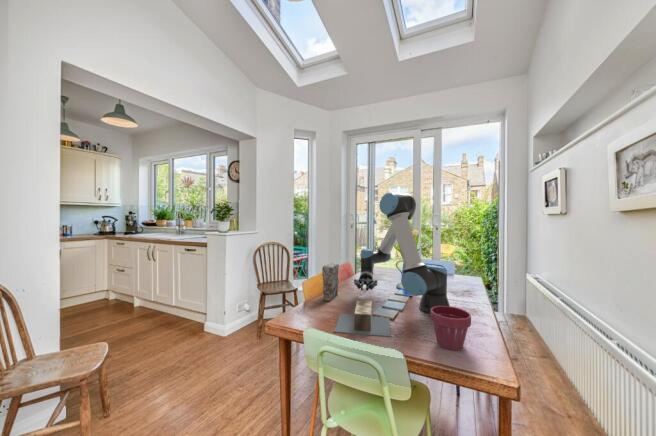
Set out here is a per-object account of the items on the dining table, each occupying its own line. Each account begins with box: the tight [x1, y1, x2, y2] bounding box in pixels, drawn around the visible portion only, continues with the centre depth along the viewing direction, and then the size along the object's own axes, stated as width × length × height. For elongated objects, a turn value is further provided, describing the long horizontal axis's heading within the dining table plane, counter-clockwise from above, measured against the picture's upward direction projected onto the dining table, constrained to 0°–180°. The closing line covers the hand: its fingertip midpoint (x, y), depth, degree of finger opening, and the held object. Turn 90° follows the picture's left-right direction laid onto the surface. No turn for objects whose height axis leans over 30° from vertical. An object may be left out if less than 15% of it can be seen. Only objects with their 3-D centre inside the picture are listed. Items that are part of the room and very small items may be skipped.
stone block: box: [321, 262, 340, 302], centre depth 159 cm, size 13×7×20 cm, turn 164°
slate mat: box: [333, 313, 393, 338], centre depth 121 cm, size 24×20×1 cm
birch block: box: [353, 299, 373, 331], centre depth 123 cm, size 7×7×18 cm
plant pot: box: [430, 306, 472, 351], centre depth 103 cm, size 14×14×13 cm
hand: (364, 290), depth 129 cm, fingers closed
